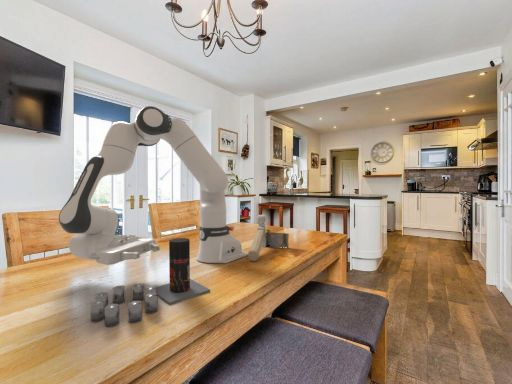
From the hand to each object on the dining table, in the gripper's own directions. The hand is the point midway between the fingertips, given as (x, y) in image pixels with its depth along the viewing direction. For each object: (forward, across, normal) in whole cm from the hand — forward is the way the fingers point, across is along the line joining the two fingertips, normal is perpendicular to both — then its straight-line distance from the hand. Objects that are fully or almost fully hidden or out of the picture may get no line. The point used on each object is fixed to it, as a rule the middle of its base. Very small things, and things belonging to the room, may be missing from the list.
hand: (148, 252), depth 84 cm
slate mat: (+11, 0, +11) cm, 16 cm away
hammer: (+21, +50, +11) cm, 55 cm away
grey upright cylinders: (+5, -15, +11) cm, 19 cm away
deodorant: (+11, 0, +11) cm, 15 cm away
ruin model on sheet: (+28, +63, +12) cm, 69 cm away
